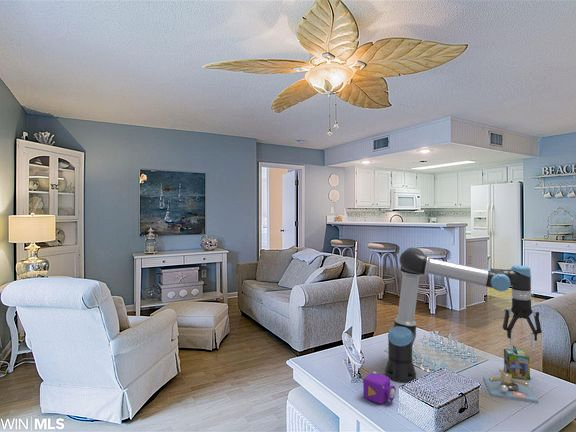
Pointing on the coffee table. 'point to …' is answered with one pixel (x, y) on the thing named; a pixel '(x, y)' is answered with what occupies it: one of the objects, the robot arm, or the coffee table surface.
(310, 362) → the coffee table surface
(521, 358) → the chalk box
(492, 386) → the board
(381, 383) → the toy camera
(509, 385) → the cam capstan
